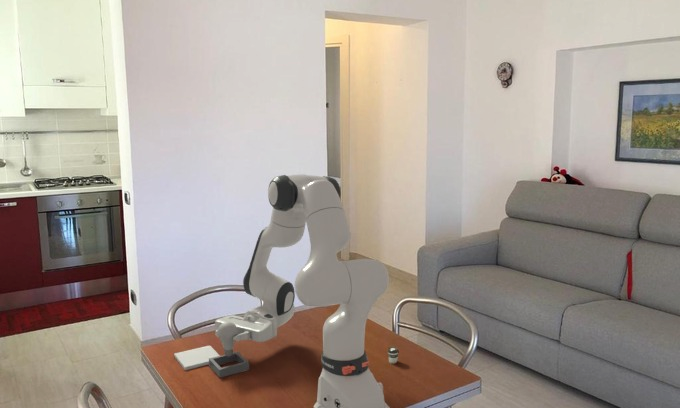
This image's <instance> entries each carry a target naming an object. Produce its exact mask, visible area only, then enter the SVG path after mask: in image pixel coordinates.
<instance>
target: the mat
mask: <svg viewBox="0 0 680 408" xmlns="http://www.w3.org/2000/svg"><path fill="white" fill-rule="evenodd" d="M217 356H221V355H220V354H219V353H218V352H217V351H216V350H215V349H214V348H213V347H212V346H211V345H206V346H201V347H196V348H192V349H188V350H184V351H180V352H175V353H173V357H174V358H175V360H176V361H177V362H178V363H179V365H180V366H181V368H182V369H183V370H184V371H188V370H191V369H196V368H199V367H204V366H207V365H208V366H209V358H213V357H217Z"/></svg>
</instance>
